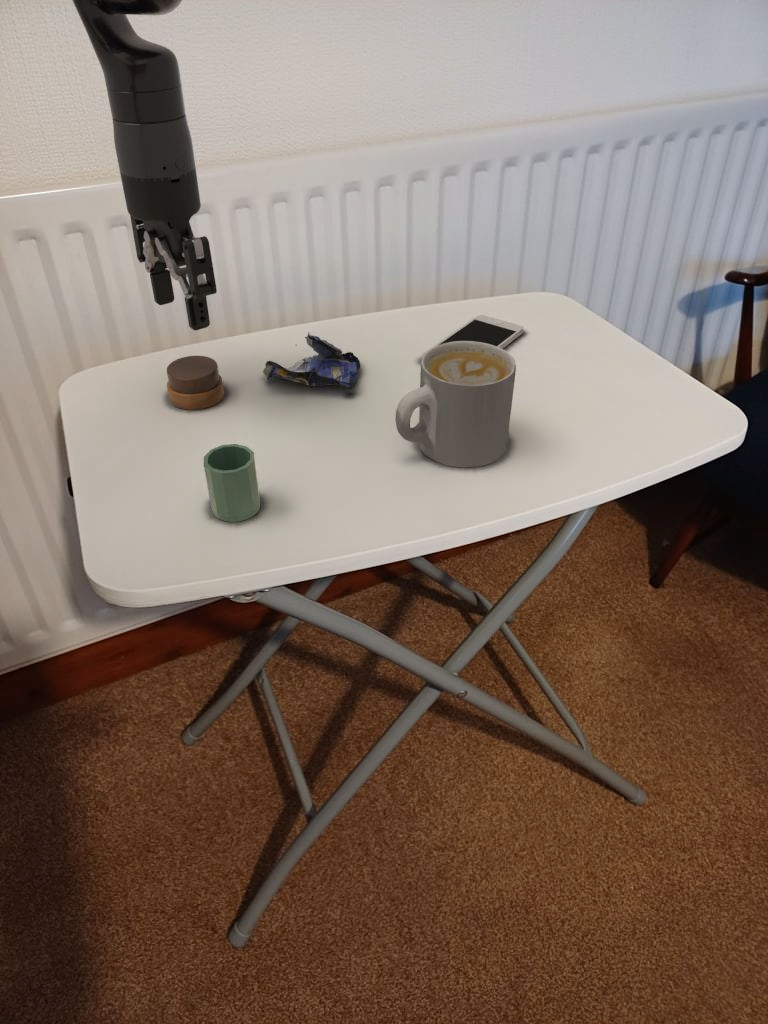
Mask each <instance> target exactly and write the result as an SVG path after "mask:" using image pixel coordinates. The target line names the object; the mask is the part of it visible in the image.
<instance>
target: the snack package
mask: <svg viewBox="0 0 768 1024" xmlns="http://www.w3.org/2000/svg"><path fill="white" fill-rule="evenodd" d="M307 333H308V334H307V336H304V339H306V344H307V345H308V346H309V347H310V348H311V349H313V351H314V352H315V353H317V354H315V355H313V356H308V357H304V358H302V359H301V360H299V361H297V362H295V363H294V364H293V365H291V366H289V367H284V366H282V365H281V364H279V363H277V362H275V361H272V360H267V361H266V362H265V364H264V368H263V370H262V373H263V374H264V376H265V377H266V380H267V381H269V380H270V378H272V377H273V376H275V377H277V378H279V379H283V380H286V381H291V382H296V383H300V384H302V385H306V386H310V387H323V386H332V385H338V386H340V387H343V388H346V389H349V390H353V388H354V386H355V385H356V382H357V375H358V373H359V370H360V369H361V362H360V359H359V358H358V357H357V356H356V355H355V354H354V352H352V351H347V352H346V353H343V351H342V349H340V348H338V347H336V346H335V345H334V344H332V343H331V342H328V341H327V340H324V339H321V337H319V336H316V335H311V334H310V332H309V331H308V332H307ZM295 346H298V344H295ZM348 395H349V396H351V393H349V394H348Z"/></svg>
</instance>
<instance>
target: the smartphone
mask: <svg viewBox="0 0 768 1024" xmlns="http://www.w3.org/2000/svg"><path fill="white" fill-rule="evenodd" d="M524 327H525V326H523V325H520V324H516V323H512V322H509V321H507V320H506V321H505V320H502V319H499V318H495V317H492V316H488V315H485V314H479V315H477V316H476V317H474V318H473V319H471V320H470V321H468V322H467V323H466V324H464V325H463V326H461V327H460V328H459V329H457V330H455V331H454V332H453V333H451V334H450V335H448V336H446V337H445V338H444V339H443V340H441V341H440V342H438V343H437V344H436V345H434V346H433V347H435V346H437V345H440V344H444V343H448V342H455V341H475V342H482V343H487V344H490V345H494V346H496V347H499V348H501V349H503V350H504V349H505V348H506V347H507V346H508V345H510V344H511V343H512V342H514V341H515V339H517V338H518V337H520V336H521V335H522V334H523V333H524ZM425 353H426V352H424V353H423V354H422V356H423V355H424V354H425Z"/></svg>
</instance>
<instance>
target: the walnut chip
mask: <svg viewBox="0 0 768 1024" xmlns="http://www.w3.org/2000/svg"><path fill="white" fill-rule="evenodd" d="M219 372H220V371H219V367H218V362H217V361H216V360H215V359H213V358H212V357H209V356H206V355H189V356H183V357H180V358H177V359H175V360H173V361H172V362H170V363H169V364H168V366H167V367H166V374H167V375H166V376H167V382H168V381H169V386H170V388H171V389H172V390H174V391H176V392H178V393H183V394H197V393H202V392H206V391H208V390H211V389H212V388H214V387H215V386H216V385H217V384H218V383H219V380H220V379H219V375H220V373H219Z"/></svg>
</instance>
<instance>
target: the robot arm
mask: <svg viewBox="0 0 768 1024" xmlns="http://www.w3.org/2000/svg"><path fill="white" fill-rule="evenodd" d="M71 2H72V3H73V5H74V7H75V9H76V12H77V14H78V16H79V18H80V20H81V23H82V24H83V27H84V29H85V31H86V34H87V36H88V39H89V41H90V44H91V46H92V48H93V51H94V54H95V55H96V57H97V60H98V62H99V65H100V68H101V70H102V72H103V77H104V82H105V87H106V92H107V93H106V94H107V98H108V103H109V107H110V114H111V117H112V127H113V143H114V149H115V153H116V159H117V164H118V170H119V175H120V180H121V184H122V185H121V186H122V191H123V195H124V201H125V205H126V210H127V213H128V215H129V216H130V222H131V228H132V234H133V239H134V240H133V242H134V247H135V252H136V258H137V260H138V262H139V263H140V264H141V263H144V269H145V271H146V272H147V273H148V274H149V279H150V283H151V289H152V295H153V300H154V302H155V303H156V304H157V305H158V306H164V305H167V304H170V303H174V301H175V292H174V287H173V281H172V279H173V280H174V281H178V283H179V285H180V289H181V290H182V293H183V295H184V303H185V309H186V315H187V322H188V326H189V328H190V329H191V330H193V331H199V330H203V329H207V328H208V327H209V326H210V324H211V321H210V313H209V307H208V300H207V296H210V295H215V294H217V292H218V289H217V283H216V278H215V271H214V266H213V265H214V264H213V258H212V253H211V245H210V242H209V239H208V237H207V236H206V235H203V236H200V237H198V236H197V237H196V236H195V235H194V232H193V230H192V226H191V223H190V221H191V219H192V218H193V216H194V215H196V214H198V212H200V209H201V207H202V205H201V197H200V190H199V182H198V174H197V168H196V161H195V160H196V159H195V152H194V146H193V140H192V135H191V131H190V127H189V124H188V120H187V114H186V107H185V99H184V91H183V86H182V79H181V78H182V77H181V72H180V66H179V62H178V59H177V57H176V54H175V53H174V52H173V51H172V49H170V48H168V47H166V46H163V45H161V44H158V43H156V42H152V41H149V40H146V39H144V38H142V37H141V36H139V34H137V32H136V31H135V29H134V28H133V26H132V24H131V22H130V21H129V18H128V17H127V15H128V16H129V15H130V16H133V15H134V16H135V15H136V16H163V15H167V14H170V13H171V12H173V11H175V10H176V9H177V8H178V7H179V6H180V5H181V3H182V2H183V0H72V1H71Z"/></svg>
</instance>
